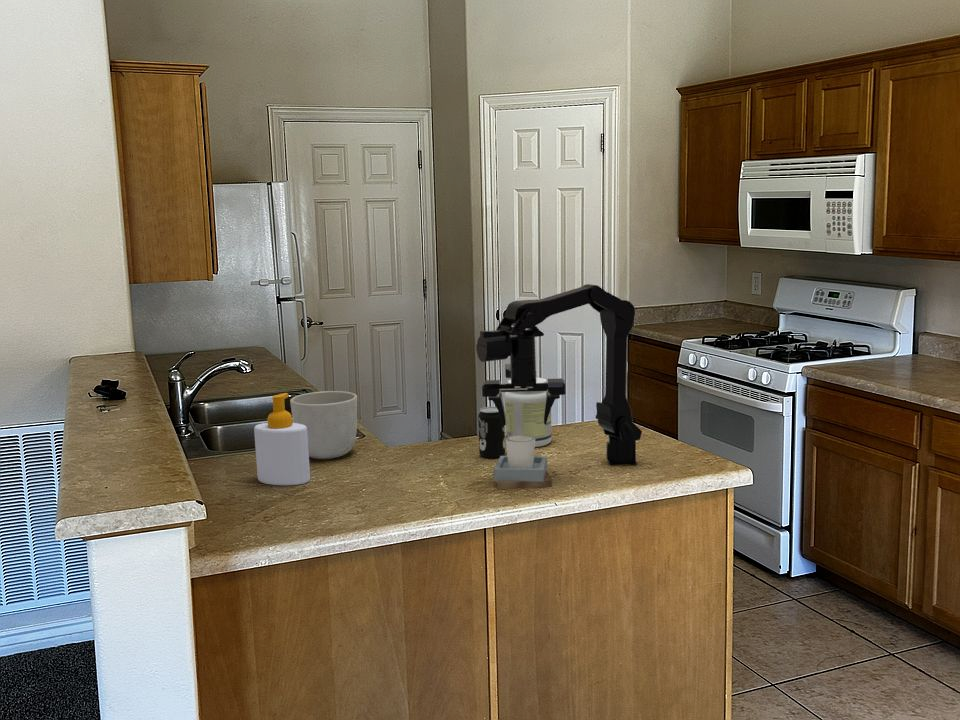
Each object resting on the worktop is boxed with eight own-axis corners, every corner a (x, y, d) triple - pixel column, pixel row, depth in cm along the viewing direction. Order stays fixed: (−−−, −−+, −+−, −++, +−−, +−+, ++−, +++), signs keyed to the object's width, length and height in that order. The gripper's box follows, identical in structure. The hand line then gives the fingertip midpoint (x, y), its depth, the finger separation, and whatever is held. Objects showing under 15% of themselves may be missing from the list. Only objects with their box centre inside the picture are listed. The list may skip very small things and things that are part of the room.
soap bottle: (317, 477, 211) (312, 393, 208) (299, 487, 203) (294, 401, 200) (269, 473, 215) (263, 391, 212) (249, 483, 208) (243, 398, 204)
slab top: (547, 467, 209) (546, 456, 208) (543, 481, 198) (543, 469, 197) (500, 466, 210) (500, 455, 210) (494, 480, 200) (494, 469, 199)
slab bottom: (544, 475, 211) (544, 465, 210) (551, 491, 199) (551, 480, 199) (493, 477, 210) (493, 467, 210) (498, 493, 198) (498, 483, 198)
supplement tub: (558, 439, 240) (557, 377, 237) (542, 450, 229) (541, 386, 226) (515, 435, 245) (514, 375, 242) (498, 446, 234) (496, 383, 231)
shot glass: (503, 464, 207) (503, 435, 206) (533, 462, 208) (532, 433, 206) (508, 472, 200) (508, 442, 199) (538, 471, 201) (538, 440, 200)
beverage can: (502, 459, 222) (501, 412, 220) (477, 458, 223) (475, 412, 221) (507, 452, 228) (506, 406, 226) (482, 451, 229) (480, 406, 227)
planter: (368, 446, 237) (365, 391, 235) (348, 464, 221) (344, 405, 218) (308, 445, 240) (304, 390, 238) (283, 463, 224) (279, 404, 221)
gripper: (563, 350, 208) (564, 415, 211) (483, 352, 210) (486, 417, 212) (564, 358, 197) (566, 426, 200) (480, 360, 199) (483, 428, 201)
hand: (524, 424), depth 204 cm, fingers open, 9 cm apart
